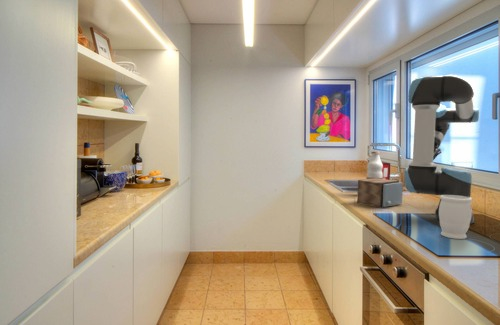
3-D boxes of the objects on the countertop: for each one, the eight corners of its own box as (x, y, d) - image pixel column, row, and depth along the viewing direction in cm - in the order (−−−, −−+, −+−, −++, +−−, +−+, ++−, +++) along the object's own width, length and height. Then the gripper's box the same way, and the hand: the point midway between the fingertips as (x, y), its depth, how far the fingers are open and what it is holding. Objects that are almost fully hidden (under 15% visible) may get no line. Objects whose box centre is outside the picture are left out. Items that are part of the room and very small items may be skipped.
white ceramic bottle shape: (365, 196, 208) (367, 151, 206) (366, 194, 216) (368, 151, 214) (381, 198, 204) (383, 152, 202) (382, 195, 213) (384, 151, 210)
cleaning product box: (367, 189, 238) (368, 161, 237) (379, 189, 238) (381, 161, 237) (375, 193, 222) (376, 163, 220) (388, 193, 222) (390, 163, 220)
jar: (458, 232, 132) (460, 194, 130) (476, 240, 121) (479, 199, 120) (431, 232, 131) (433, 194, 130) (448, 240, 121) (450, 199, 120)
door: (405, 203, 184) (406, 182, 183) (387, 207, 173) (388, 185, 172) (400, 202, 186) (401, 182, 185) (382, 206, 175) (383, 184, 174)
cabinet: (397, 204, 186) (398, 180, 185) (380, 207, 176) (381, 183, 175) (374, 200, 197) (375, 178, 196) (357, 203, 187) (358, 180, 186)
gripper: (448, 145, 185) (432, 177, 177) (424, 145, 196) (408, 175, 187) (444, 136, 182) (427, 168, 173) (420, 135, 192) (403, 166, 183)
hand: (417, 171), depth 180 cm, fingers closed
